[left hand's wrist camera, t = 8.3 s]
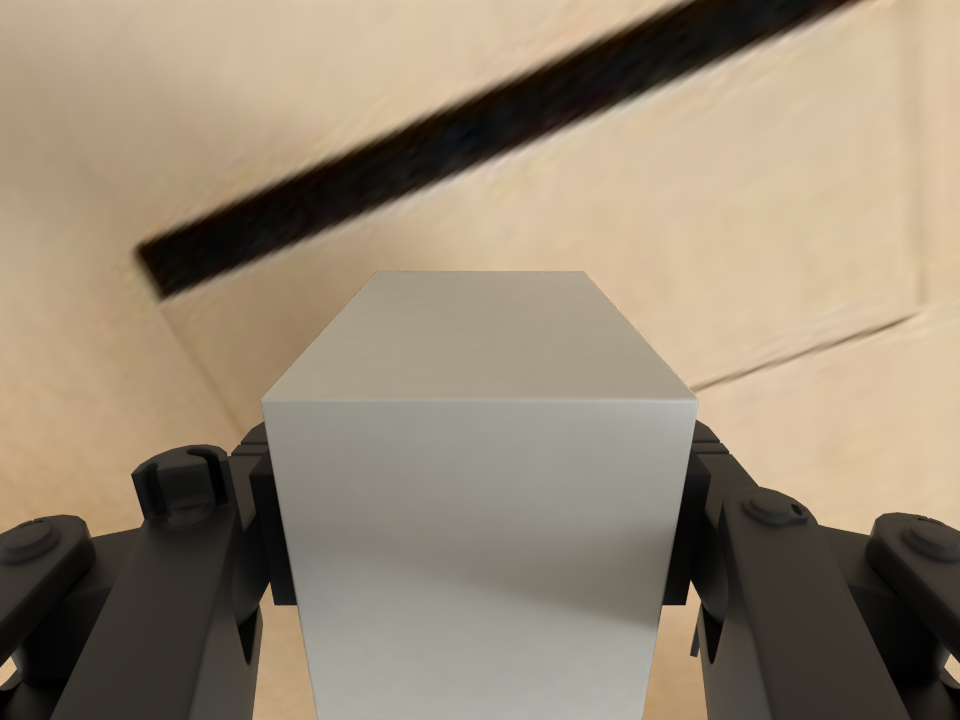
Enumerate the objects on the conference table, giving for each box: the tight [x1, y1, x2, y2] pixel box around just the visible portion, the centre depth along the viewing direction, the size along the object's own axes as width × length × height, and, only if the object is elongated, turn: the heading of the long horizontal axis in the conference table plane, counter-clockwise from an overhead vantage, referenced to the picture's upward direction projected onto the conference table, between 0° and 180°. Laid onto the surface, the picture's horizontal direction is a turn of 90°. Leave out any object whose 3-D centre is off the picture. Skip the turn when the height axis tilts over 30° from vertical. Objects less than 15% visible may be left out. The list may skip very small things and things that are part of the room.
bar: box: [261, 271, 699, 720], centre depth 15 cm, size 24×6×8 cm, turn 0°
